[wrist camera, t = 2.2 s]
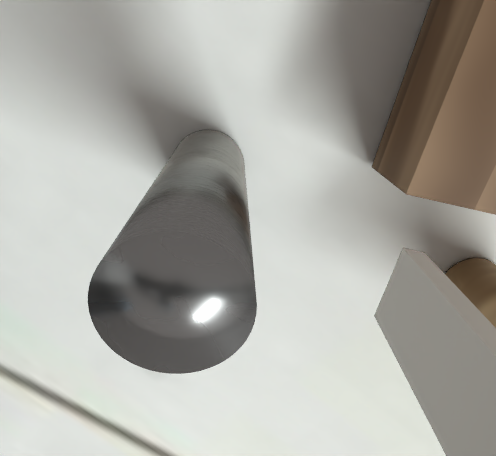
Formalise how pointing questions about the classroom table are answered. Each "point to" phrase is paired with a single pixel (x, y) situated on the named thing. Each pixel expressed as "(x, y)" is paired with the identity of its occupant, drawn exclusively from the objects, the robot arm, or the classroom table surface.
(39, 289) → the classroom table surface
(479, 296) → the oak dowel
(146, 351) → the metal pin
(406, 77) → the socket block
